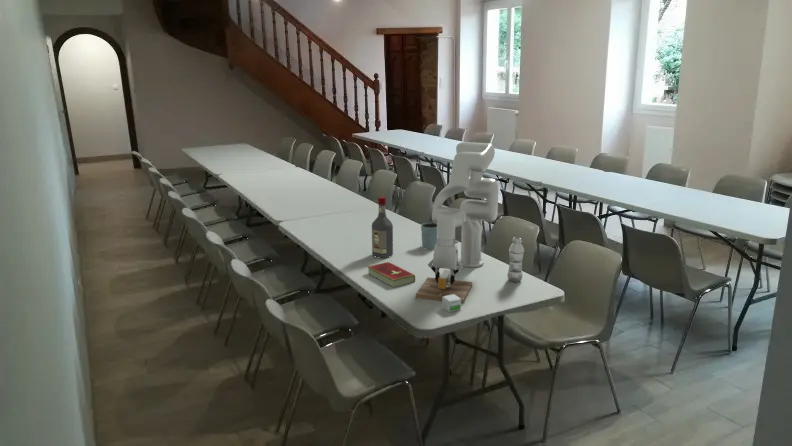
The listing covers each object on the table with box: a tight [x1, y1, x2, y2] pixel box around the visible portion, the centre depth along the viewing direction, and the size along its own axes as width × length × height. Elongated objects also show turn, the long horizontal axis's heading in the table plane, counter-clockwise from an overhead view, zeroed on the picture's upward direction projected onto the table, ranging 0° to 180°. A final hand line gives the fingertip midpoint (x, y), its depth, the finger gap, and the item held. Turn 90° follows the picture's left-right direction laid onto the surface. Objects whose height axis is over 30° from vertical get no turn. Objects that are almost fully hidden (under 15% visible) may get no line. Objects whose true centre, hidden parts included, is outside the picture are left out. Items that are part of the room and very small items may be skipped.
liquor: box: [371, 196, 394, 259], centre depth 292 cm, size 9×9×30 cm
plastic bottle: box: [507, 236, 525, 283], centre depth 259 cm, size 6×7×20 cm
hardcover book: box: [367, 261, 416, 288], centre depth 266 cm, size 12×21×4 cm, turn 35°
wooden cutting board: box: [415, 276, 473, 305], centre depth 249 cm, size 20×20×2 cm
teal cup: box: [420, 222, 437, 250], centre depth 308 cm, size 10×10×12 cm
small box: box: [441, 294, 462, 313], centre depth 233 cm, size 6×6×5 cm
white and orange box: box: [438, 269, 451, 289], centre depth 248 cm, size 11×4×6 cm, turn 163°
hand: (444, 282), depth 248 cm, fingers open, 5 cm apart
